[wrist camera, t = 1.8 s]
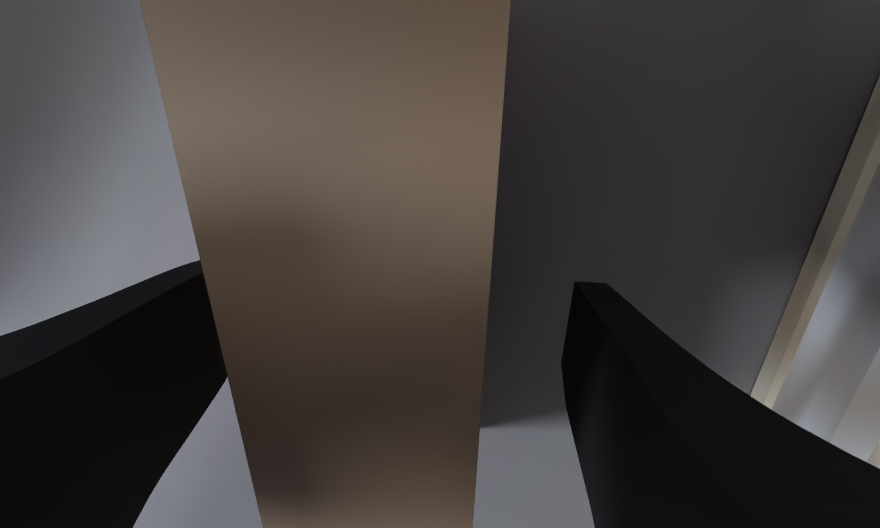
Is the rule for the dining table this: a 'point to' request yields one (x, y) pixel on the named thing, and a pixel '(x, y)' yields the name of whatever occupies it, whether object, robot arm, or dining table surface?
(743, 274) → the dining table surface
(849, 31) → the dining table surface
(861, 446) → the door track
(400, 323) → the brown rectangular block
